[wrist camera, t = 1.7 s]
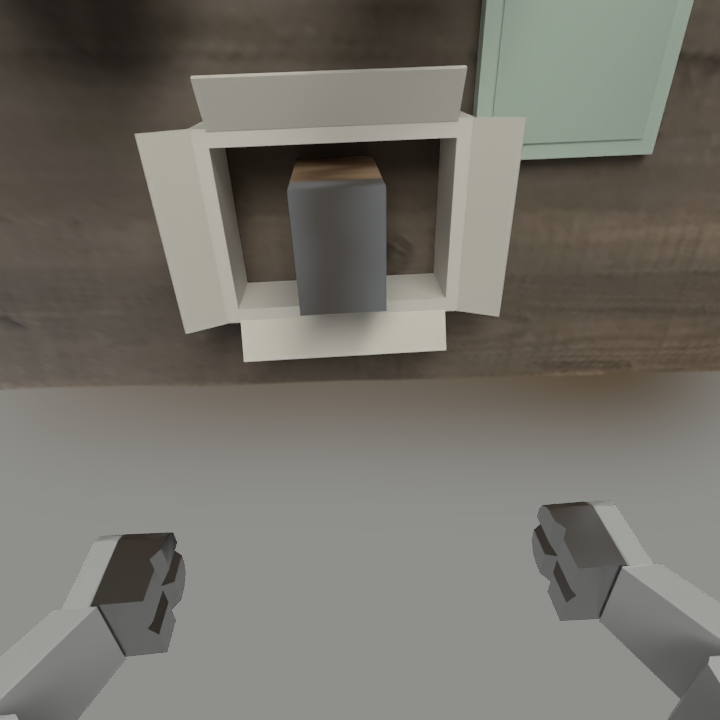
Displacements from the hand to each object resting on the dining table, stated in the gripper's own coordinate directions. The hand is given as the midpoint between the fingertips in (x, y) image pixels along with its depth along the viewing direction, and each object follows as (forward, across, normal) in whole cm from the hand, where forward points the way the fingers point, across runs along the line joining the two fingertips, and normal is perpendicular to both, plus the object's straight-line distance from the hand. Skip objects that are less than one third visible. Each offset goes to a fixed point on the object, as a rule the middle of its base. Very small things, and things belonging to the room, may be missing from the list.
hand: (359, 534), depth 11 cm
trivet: (+27, -15, -9) cm, 32 cm away
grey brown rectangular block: (+27, 0, 0) cm, 27 cm away
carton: (+27, 0, 0) cm, 27 cm away
